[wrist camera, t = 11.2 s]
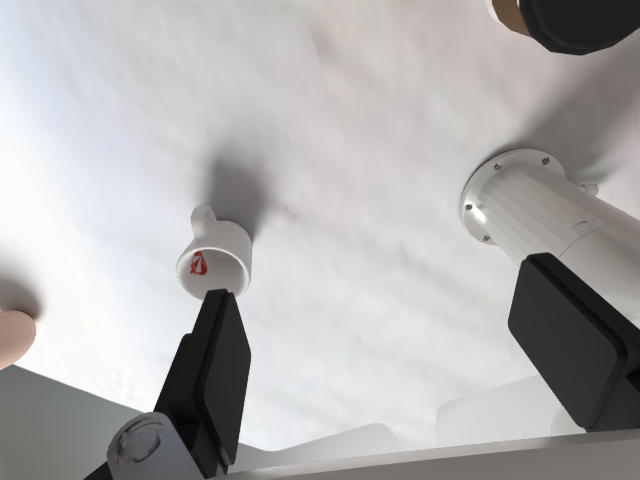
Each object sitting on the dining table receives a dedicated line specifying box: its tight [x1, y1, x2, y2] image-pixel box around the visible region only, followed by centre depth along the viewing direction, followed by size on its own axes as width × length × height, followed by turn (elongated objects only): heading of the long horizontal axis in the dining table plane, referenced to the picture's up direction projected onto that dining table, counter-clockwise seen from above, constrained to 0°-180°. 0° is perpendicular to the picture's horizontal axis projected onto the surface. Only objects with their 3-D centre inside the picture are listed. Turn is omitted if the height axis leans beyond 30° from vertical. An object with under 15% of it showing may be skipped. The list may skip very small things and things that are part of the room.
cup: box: [176, 205, 252, 302], centre depth 40 cm, size 11×8×8 cm
